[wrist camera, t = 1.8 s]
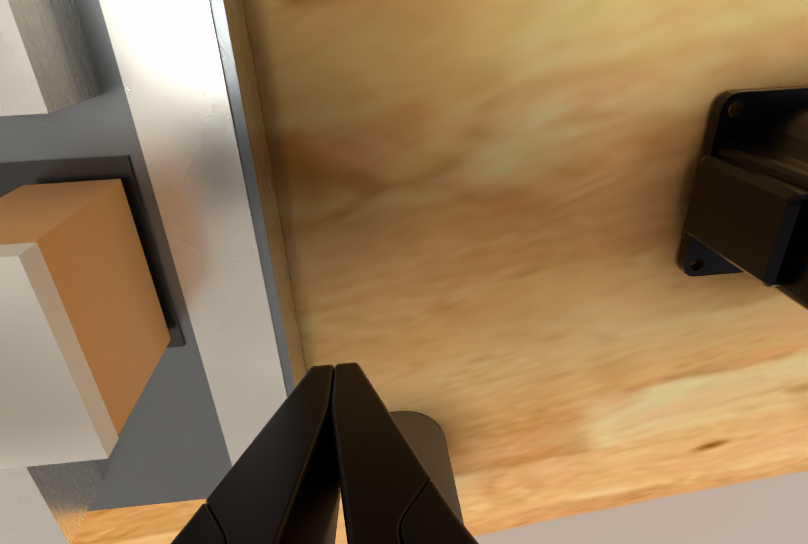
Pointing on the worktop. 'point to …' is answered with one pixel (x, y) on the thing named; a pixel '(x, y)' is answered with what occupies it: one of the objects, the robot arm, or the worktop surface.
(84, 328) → the block
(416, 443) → the post
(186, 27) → the breaker panel
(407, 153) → the worktop surface
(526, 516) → the worktop surface
